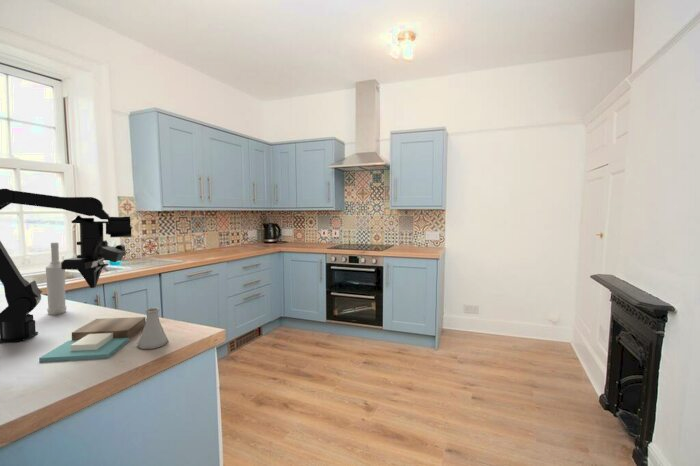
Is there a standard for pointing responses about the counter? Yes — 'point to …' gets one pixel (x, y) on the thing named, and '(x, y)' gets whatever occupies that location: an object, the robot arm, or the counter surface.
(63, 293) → the bottle
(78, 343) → the cream tile
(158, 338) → the flask
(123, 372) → the counter surface
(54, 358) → the teal mat
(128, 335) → the walnut deck
